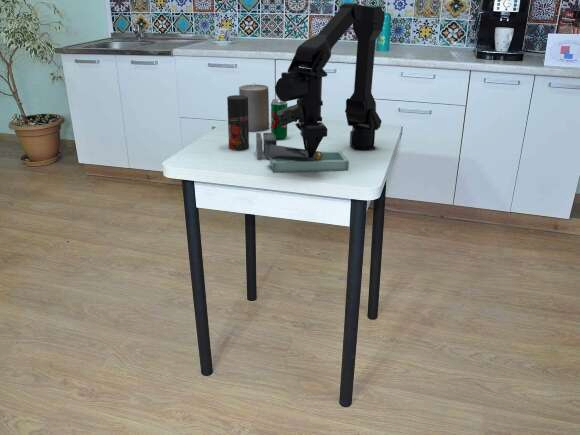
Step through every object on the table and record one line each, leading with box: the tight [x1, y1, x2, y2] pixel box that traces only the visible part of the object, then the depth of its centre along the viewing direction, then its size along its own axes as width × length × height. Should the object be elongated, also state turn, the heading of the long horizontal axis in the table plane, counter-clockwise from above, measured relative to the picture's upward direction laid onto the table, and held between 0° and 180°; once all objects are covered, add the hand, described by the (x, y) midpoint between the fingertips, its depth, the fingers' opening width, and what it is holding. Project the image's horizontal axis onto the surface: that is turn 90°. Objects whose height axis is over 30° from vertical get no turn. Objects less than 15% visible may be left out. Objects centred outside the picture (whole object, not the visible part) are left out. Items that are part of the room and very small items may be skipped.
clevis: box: [255, 132, 278, 161], centre depth 155 cm, size 5×8×6 cm, turn 7°
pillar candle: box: [238, 82, 270, 133], centre depth 182 cm, size 10×10×15 cm
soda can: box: [270, 98, 288, 141], centre depth 171 cm, size 5×5×12 cm
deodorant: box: [226, 94, 250, 152], centre depth 160 cm, size 6×6×15 cm
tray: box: [269, 150, 350, 173], centre depth 148 cm, size 20×9×2 cm, turn 97°
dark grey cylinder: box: [268, 144, 323, 161], centre depth 146 cm, size 14×3×3 cm, turn 97°
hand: (308, 154), depth 147 cm, fingers open, 6 cm apart
